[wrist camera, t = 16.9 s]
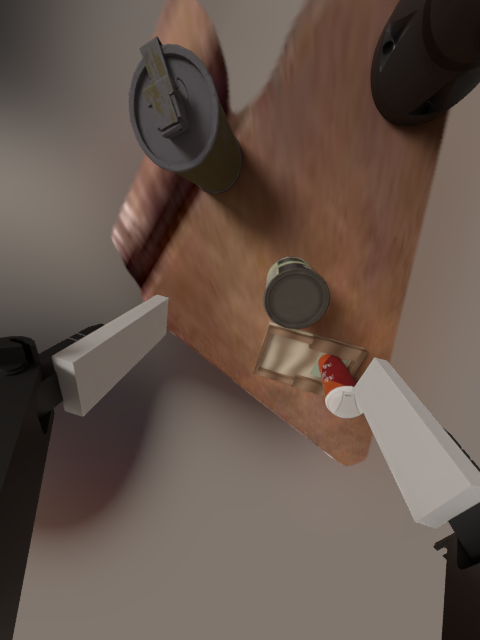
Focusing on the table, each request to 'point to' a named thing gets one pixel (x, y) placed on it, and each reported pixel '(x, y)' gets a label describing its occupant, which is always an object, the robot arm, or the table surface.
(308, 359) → the keyhole slot
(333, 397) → the paper cup
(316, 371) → the seat pad
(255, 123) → the table surface
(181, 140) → the canister
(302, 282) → the coffee can
